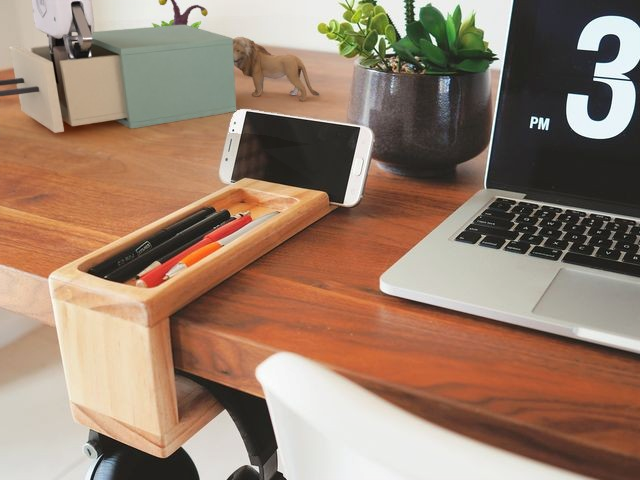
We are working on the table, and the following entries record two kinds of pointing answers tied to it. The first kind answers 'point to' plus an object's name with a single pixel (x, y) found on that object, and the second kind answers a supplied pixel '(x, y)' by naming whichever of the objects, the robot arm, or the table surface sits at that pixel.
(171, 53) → the cabinet
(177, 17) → the plant
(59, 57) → the wooden block
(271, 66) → the lion figurine
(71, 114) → the drawer
